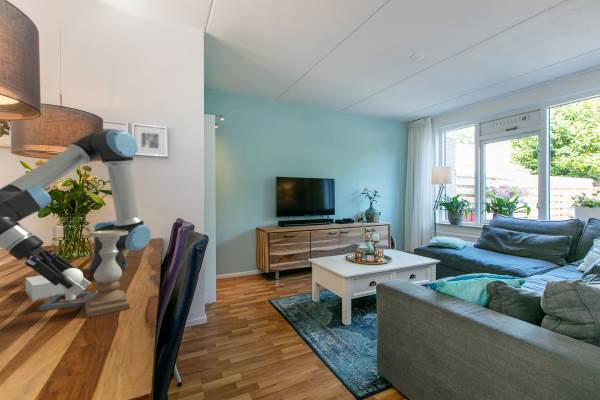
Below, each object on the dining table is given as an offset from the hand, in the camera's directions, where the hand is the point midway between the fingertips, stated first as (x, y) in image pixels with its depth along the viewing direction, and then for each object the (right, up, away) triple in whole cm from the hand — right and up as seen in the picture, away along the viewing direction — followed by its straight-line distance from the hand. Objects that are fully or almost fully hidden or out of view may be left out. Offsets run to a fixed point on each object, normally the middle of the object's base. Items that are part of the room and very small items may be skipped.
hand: (84, 289), depth 91 cm
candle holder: (+12, -4, -6) cm, 14 cm away
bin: (-17, -3, +8) cm, 19 cm away
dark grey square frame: (-3, -4, -1) cm, 5 cm away
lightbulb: (-3, -4, -2) cm, 5 cm away
